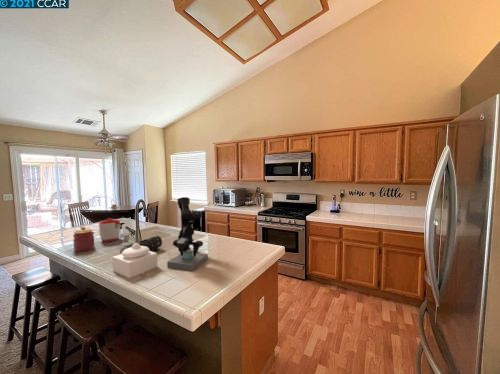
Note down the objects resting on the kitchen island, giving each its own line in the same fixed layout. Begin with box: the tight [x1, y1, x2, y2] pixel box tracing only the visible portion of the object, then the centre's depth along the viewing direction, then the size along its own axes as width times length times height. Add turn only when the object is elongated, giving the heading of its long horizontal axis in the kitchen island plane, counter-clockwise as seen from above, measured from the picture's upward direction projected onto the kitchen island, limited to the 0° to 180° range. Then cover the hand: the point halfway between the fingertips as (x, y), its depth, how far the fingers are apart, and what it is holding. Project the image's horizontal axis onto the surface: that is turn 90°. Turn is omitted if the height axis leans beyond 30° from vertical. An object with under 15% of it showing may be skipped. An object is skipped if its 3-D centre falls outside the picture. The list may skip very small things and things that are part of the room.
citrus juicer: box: [98, 217, 122, 243], centre depth 192 cm, size 16×17×20 cm
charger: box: [183, 249, 194, 260], centre depth 140 cm, size 4×4×8 cm
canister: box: [72, 226, 95, 253], centre depth 169 cm, size 13×13×18 cm
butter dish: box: [112, 242, 159, 279], centre depth 132 cm, size 18×18×16 cm
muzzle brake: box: [119, 235, 163, 255], centre depth 157 cm, size 10×28×10 cm, turn 155°
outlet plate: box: [166, 251, 209, 272], centre depth 140 cm, size 18×18×4 cm
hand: (188, 256), depth 140 cm, fingers open, 9 cm apart
